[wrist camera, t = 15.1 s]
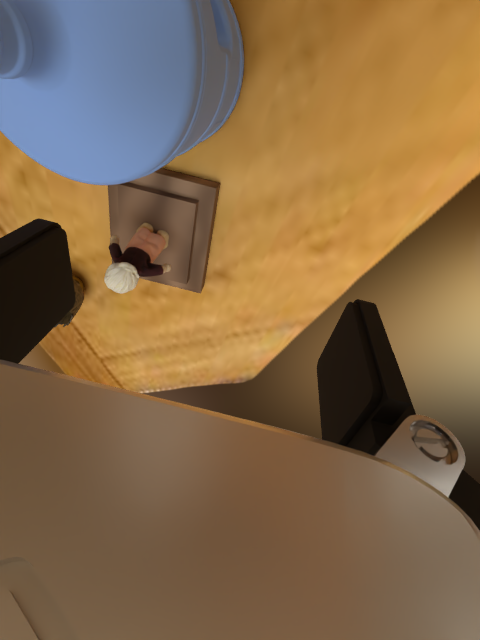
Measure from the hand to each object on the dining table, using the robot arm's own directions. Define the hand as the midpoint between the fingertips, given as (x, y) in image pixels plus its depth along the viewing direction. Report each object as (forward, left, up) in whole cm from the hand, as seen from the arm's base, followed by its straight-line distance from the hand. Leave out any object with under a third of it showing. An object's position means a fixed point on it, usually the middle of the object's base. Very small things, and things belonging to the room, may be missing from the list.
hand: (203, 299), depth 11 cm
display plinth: (+12, +14, -34) cm, 39 cm away
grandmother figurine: (+12, +14, -31) cm, 35 cm away
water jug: (+12, -5, -34) cm, 37 cm away
